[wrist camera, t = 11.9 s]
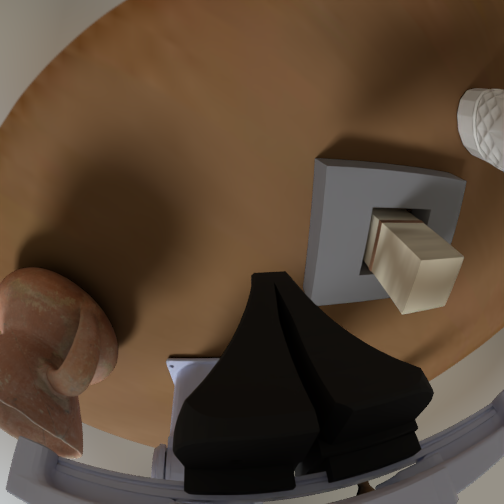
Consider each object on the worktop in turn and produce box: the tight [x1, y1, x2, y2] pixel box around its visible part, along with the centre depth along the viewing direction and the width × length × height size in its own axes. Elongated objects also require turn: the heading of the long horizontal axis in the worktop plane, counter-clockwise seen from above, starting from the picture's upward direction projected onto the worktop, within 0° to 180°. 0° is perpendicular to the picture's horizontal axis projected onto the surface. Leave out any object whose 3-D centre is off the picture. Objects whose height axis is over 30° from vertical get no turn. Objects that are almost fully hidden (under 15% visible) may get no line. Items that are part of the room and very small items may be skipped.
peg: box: [363, 208, 464, 314], centre depth 18 cm, size 4×4×8 cm
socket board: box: [303, 158, 466, 306], centre depth 20 cm, size 11×13×2 cm
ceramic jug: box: [0, 267, 118, 459], centre depth 17 cm, size 18×14×14 cm
